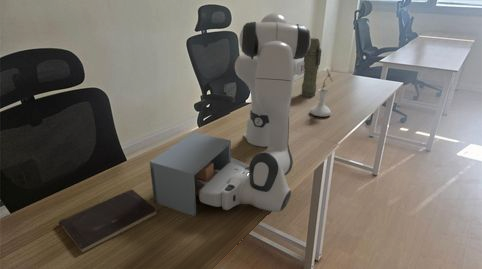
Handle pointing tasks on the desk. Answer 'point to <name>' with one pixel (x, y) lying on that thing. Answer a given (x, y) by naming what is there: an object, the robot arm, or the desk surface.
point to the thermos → (311, 68)
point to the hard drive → (240, 163)
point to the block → (204, 175)
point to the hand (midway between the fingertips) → (202, 176)
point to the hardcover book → (107, 219)
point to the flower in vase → (322, 102)
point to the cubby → (186, 169)
